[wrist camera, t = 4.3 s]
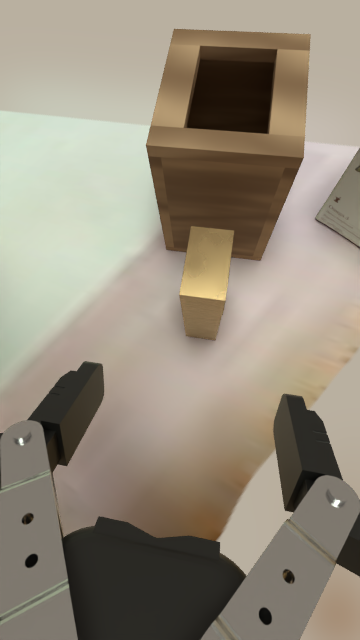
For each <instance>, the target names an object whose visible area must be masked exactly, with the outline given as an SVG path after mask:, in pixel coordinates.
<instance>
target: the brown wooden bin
mask: <svg viewBox="0 0 360 640" xmlns="http://www.w3.org/2000/svg"><path fill="white" fill-rule="evenodd" d="M309 51H310V34H287V33H263V32H237V31H213V30H186V29H174V31H173V35H172V39H171V44H170V48H169V52H168V56H167V60H166V64H165V68H164V73H163V77H162V81H161V85H160V89H159V93H158V97H157V102H156V106H155V110H154V114H153V118H152V122H151V127H150V131H149V135H148V139H147V143H146V148H147V153H148V158H149V163H150V168H151V173H152V178H153V183H154V188H155V193H156V199H157V204H158V209H159V214H160V219H161V224H162V229H163V234H164V239H165V245H166V250H174V251H182V252H187V248H188V242H189V236H190V230H191V226H195V227H205V228H214V229H224V230H233V231H234V236H233V244H232V252H231V257H235V258H243V259H252V260H261V258H262V255H263V253H264V250H265V248H266V246H267V243H268V241H269V239H270V236H271V234H272V231H273V229H274V227H275V224H276V222H277V220H278V217H279V215H280V212H281V210H282V208H283V205H284V203H285V201H286V198H287V196H288V194H289V191H290V189H291V186H292V184H293V182H294V179H295V177H296V175H297V172H298V170H299V167H300V165H301V163H302V160H303V158H304V141H305V123H306V105H307V104H306V103H307V88H308V70H309Z"/></svg>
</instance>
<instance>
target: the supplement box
mask: <svg viewBox="0 0 360 640" xmlns="http://www.w3.org/2000/svg"><path fill="white" fill-rule="evenodd" d="M316 219H317V220H319V221H320V222H322V223H324V224H326V225H327V226H329V227H330V228H332V229H334V230H335V231H337V232H338V233H340V234H341V235H343V236H344V237H346V238H347V239H349V240H350V241H352V242H353V243H355V244H356V245H357V246H359V247H360V148H359V150H358V151H357V153H356V155H355V156H354V158H353V159H352V161H351V163H350V164H349V166H348V167H347V169H346V171H345V172H344V174H343V175H342V177H341V178H340V180H339V182H338V183H337V185H336V186H335V188H334V189H333V191H332V192H331V194H330V196H329V197H328V199H327V200H326V202H325V203H324V205H323V207H322V208H321V210H320V211H319V213H318V214H317V216H316Z"/></svg>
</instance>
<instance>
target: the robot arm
mask: <svg viewBox="0 0 360 640" xmlns="http://www.w3.org/2000/svg"><path fill="white" fill-rule="evenodd" d="M103 396H104V379H103V366H102V364H99V363H93V362H87V361H85V362H83V364H82V365H81V366H80V368H79V369H78V370H77V371H70V372H68V373H67V374H65V375H64V376H62V377H61V378H60V379H59V381H58V382H57V383H56V384H55V386H54V387H53V388H52V389H51V391H50V392H49V394H47V396H46V397H45V398H44V399H43V401H42V402H41V403H40V405H39V406H38V407H37V408H36V410H35V411H34V412H33V413H32V415H31V416H30V417H29V418H28V420H27V421H21V422H18V423H16V424H14V425H12V426H11V427H9V428H8V429H7V430H6V431H5V432H4V433H0V640H300V638H301V636H302V633H303V631H304V629H305V627H306V625H307V623H308V621H309V619H310V617H311V615H312V613H313V611H314V609H315V607H316V605H317V603H318V600H319V598H320V596H321V594H322V592H323V590H324V588H325V586H326V584H327V582H328V580H329V578H330V576H331V574H332V571H333V570H334V567H335V565H336V563H337V564H339V565H341V566H342V567H344V568H346V569H347V570H349V571H351V572H353V573H355V574H356V575H358V576H360V500H359V498H358V496H357V494H356V493H355V491H354V490H353V489H352V488H351V487H350V486H349V485H348V484H347V483H346V482H344V481H343V479H342V476H341V473H340V470H339V468H338V464H337V462H336V459H335V456H334V453H333V450H332V447H331V444H330V441H329V438H328V435H327V434H326V433H327V432H326V429H325V426H324V423H323V421H322V420H321V419H320V417H319V416H318V415H317V414H316V412H315V411H310V410H307V409H306V406H305V402H304V399H303V397H302V396H296V395H289V394H283V395H282V398H281V401H280V404H279V407H278V410H277V413H276V416H275V420H274V428H273V432H274V440H275V447H276V454H277V460H278V467H279V474H280V481H281V488H282V495H283V502H284V509H285V511H289V512H294V513H293V514H292V516H291V517H290V519H289V520H288V519H287V520H286V521H285V522H284V524H283V525H282V526H281V528H280V529H279V531H278V532H277V534H276V535H275V536H274V538H273V539H272V541H271V542H270V544H269V545H268V546H267V548H266V549H265V551H264V552H263V554H262V555H261V556H260V558H259V559H258V561H257V562H256V564H255V565H254V567H253V568H252V569H251V571H250V572H249V574H248V575H247V576H246V575H245V574H244V572H243V571H242V570H241V569H240V568H239V567H238V566H237V565H236V564H235V563H234V562H233V561H231V560H230V559H229V558H227V557H226V556H224V555H223V554H221V553H220V542H216V541H212V540H207V539H202V538H198V537H193V536H179V537H167V538H155V537H153V536H151V535H149V534H147V533H146V532H144V531H142V530H140V529H138V528H137V527H135V526H133V525H131V524H129V523H128V522H123V521H119V520H114V519H109V518H105V517H100V516H99V517H98V519H97V522H96V525H95V526H91V527H86V528H82V529H79V530H77V531H74V532H72V533H70V534H68V535H66V536H65V537H64V533H63V528H62V523H61V518H60V512H59V506H58V501H57V495H56V489H55V484H54V478H53V471H54V469H55V468H56V466H57V464H59V465H64V466H67V465H68V463H69V461H70V460H71V458H72V456H73V454H74V452H75V450H76V448H77V447H78V445H79V443H80V441H81V439H82V437H83V436H84V434H85V432H86V430H87V428H88V426H89V425H90V423H91V421H92V419H93V417H94V415H95V413H96V412H97V410H98V408H99V406H100V404H101V402H102V400H103Z"/></svg>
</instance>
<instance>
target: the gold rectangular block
mask: <svg viewBox="0 0 360 640" xmlns="http://www.w3.org/2000/svg"><path fill="white" fill-rule="evenodd" d="M233 236H234V231H233V230H224V229H214V228H205V227H195V226H191V230H190V236H189V242H188V248H187V254H186V259H185V265H184V271H183V277H182V283H181V288H180V294H179V295H180V301H181V308H182V314H183V320H184V326H185V332H186V336H189V337H196V338H203V339H210V340H216V336H217V332H218V328H219V324H220V320H221V316H222V315H223V311H224V305H225V300H226V292H227V285H228V278H229V268H230V260H231V252H232V244H233Z"/></svg>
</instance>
